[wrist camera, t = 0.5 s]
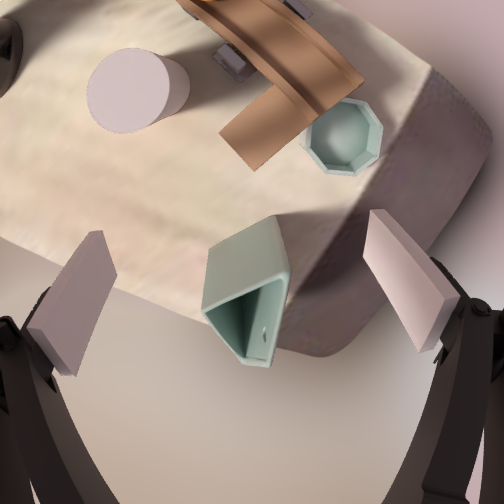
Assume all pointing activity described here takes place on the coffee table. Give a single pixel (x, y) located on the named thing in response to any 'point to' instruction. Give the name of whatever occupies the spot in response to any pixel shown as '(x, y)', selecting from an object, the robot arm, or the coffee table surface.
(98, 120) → the pale pink cylinder
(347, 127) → the bowl
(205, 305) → the planter
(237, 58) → the fulcrum
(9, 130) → the coffee table surface
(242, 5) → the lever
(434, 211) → the coffee table surface
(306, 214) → the coffee table surface
